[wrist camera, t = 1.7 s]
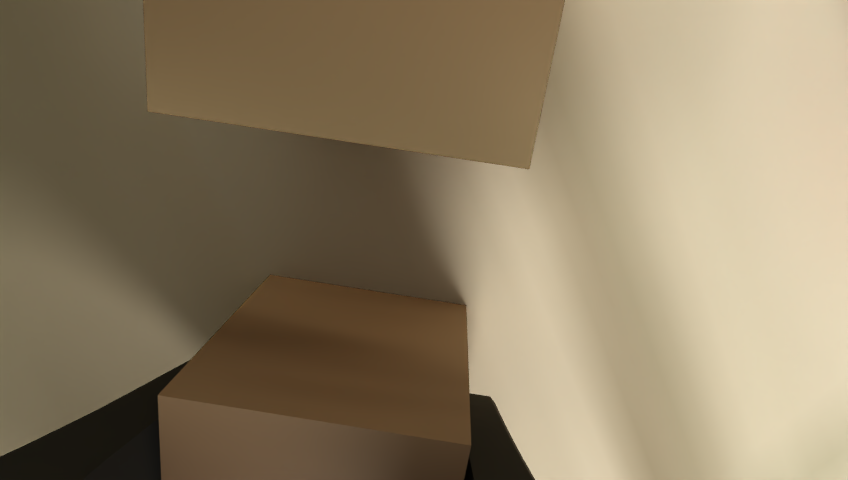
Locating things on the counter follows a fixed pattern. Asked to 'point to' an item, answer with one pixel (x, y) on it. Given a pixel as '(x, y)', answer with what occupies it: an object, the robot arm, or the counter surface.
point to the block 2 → (323, 390)
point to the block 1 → (360, 70)
